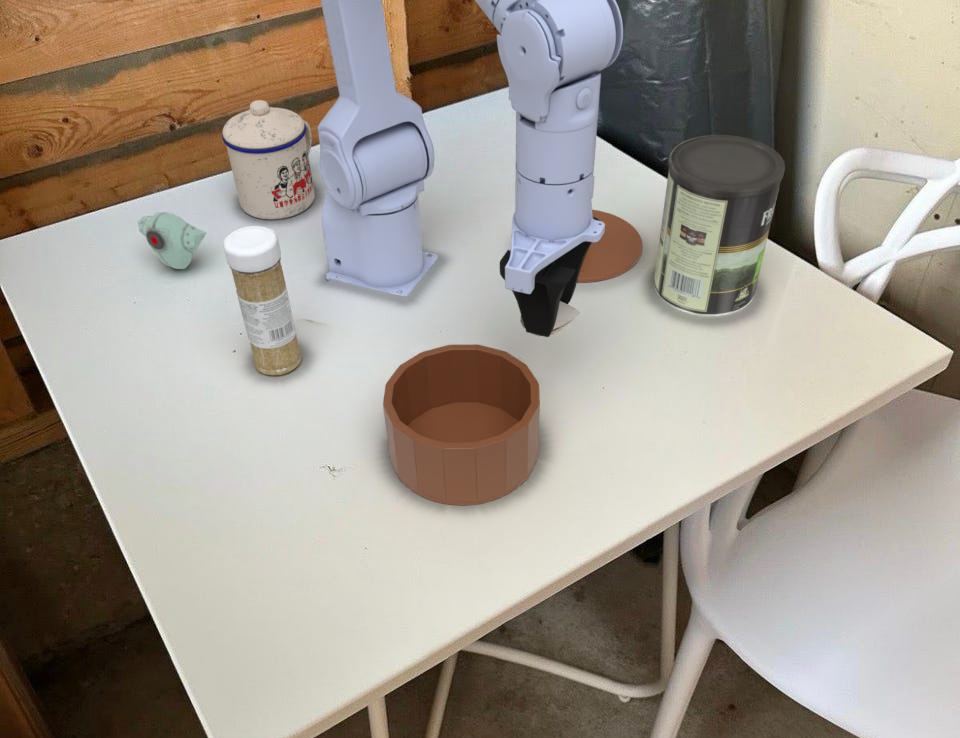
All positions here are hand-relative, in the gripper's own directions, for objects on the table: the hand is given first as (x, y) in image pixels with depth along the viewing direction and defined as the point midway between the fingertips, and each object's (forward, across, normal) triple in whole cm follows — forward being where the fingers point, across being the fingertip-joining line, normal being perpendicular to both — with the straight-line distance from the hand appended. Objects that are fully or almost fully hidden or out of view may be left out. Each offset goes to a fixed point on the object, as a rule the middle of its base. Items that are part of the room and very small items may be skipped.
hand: (548, 315), depth 77 cm
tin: (+9, -9, +4) cm, 13 cm away
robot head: (+9, +4, +43) cm, 44 cm away
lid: (+8, +23, +5) cm, 24 cm away
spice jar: (+9, -5, +25) cm, 27 cm away
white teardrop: (+2, 0, 0) cm, 2 cm away
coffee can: (+9, +20, -9) cm, 24 cm away
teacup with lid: (+9, +21, +40) cm, 46 cm away
